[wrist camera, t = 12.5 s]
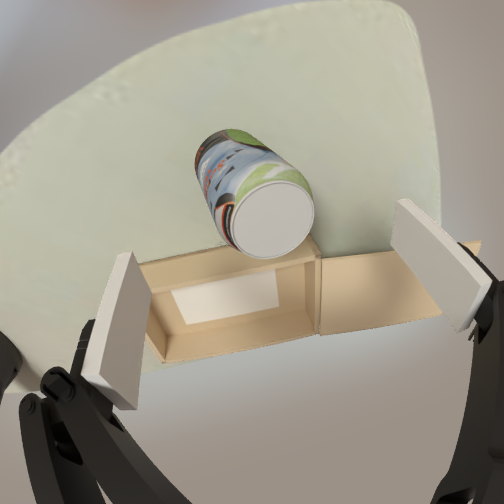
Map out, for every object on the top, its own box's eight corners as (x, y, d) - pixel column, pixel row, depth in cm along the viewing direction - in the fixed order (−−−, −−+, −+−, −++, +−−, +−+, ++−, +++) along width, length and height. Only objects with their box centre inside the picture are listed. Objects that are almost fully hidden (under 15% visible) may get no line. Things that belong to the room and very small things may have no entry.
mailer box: (163, 336, 37) (162, 363, 33) (126, 266, 30) (118, 295, 26) (308, 307, 38) (319, 333, 34) (306, 228, 30) (321, 253, 26)
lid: (453, 311, 31) (452, 309, 31) (481, 242, 24) (479, 239, 25) (319, 335, 33) (319, 332, 33) (322, 261, 26) (321, 258, 27)
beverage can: (191, 131, 23) (179, 178, 13) (276, 123, 23) (328, 164, 14) (199, 195, 26) (198, 279, 17) (277, 187, 27) (320, 263, 17)
